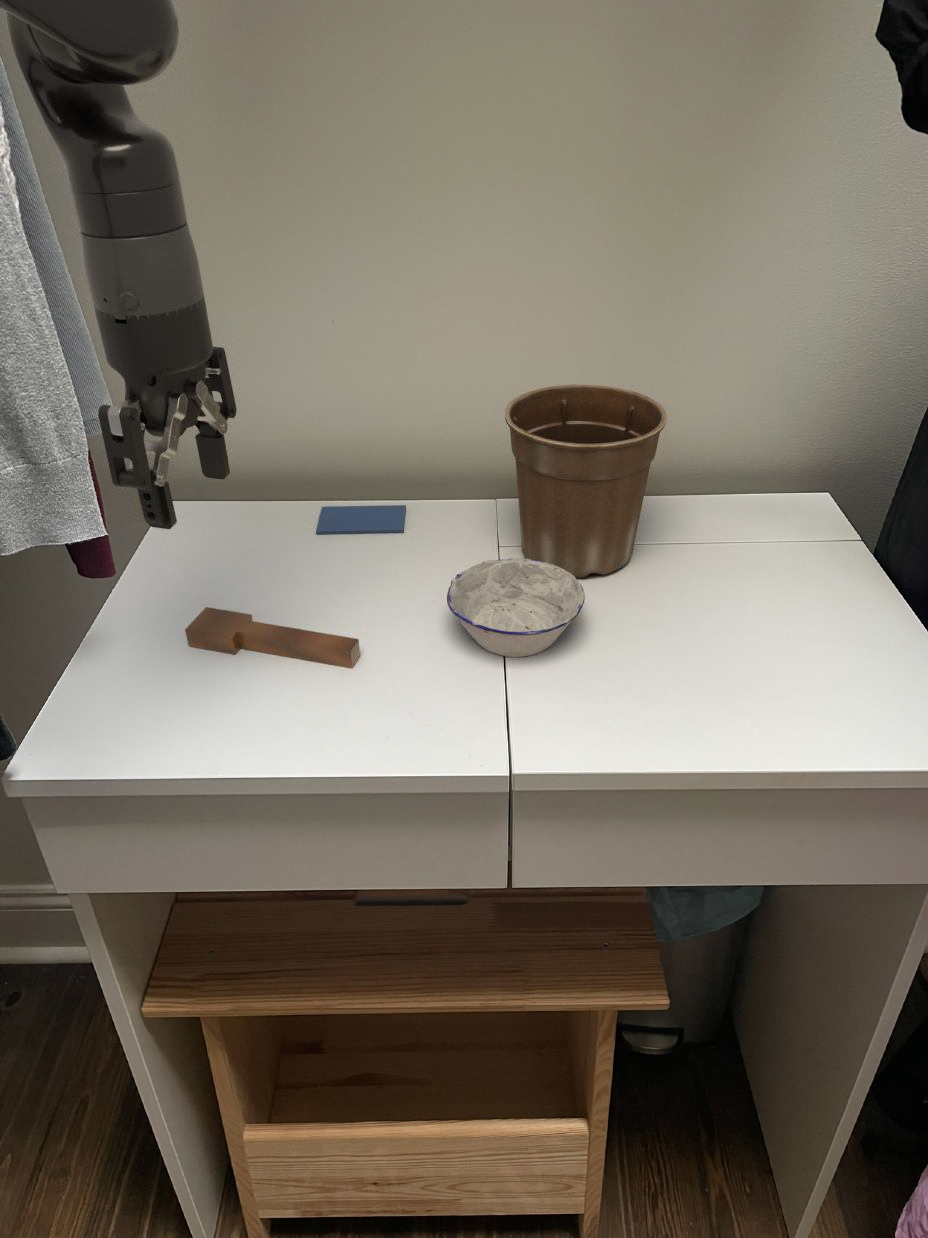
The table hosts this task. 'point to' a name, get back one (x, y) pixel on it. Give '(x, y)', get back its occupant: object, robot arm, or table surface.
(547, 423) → the plant pot
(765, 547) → the table surface
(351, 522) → the cloth
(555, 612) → the bowl
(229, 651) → the wooden mallet
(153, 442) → the robot arm
